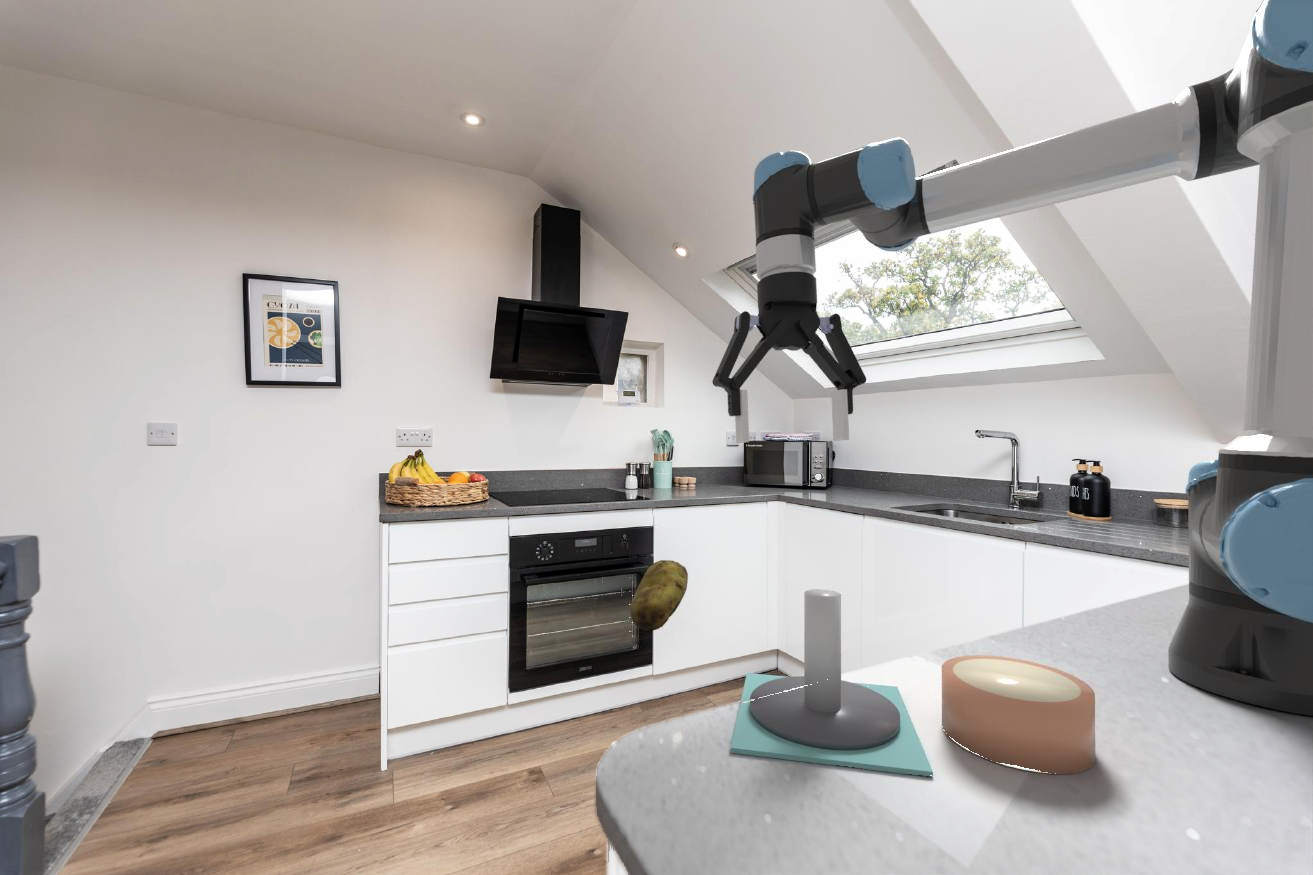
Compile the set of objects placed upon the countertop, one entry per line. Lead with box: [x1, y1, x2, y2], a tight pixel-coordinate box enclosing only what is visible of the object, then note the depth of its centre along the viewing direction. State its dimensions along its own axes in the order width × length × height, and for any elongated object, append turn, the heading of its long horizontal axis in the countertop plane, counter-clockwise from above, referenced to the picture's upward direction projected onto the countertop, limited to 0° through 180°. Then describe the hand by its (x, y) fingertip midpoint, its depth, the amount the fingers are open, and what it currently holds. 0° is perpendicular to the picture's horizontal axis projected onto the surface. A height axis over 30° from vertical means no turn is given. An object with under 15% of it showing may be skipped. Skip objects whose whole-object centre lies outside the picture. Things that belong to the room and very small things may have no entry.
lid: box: [750, 588, 900, 751], centre depth 54 cm, size 13×13×11 cm
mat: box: [730, 672, 934, 777], centre depth 53 cm, size 15×16×1 cm
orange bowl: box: [941, 654, 1096, 775], centre depth 50 cm, size 11×11×5 cm
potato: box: [629, 559, 689, 633], centre depth 82 cm, size 8×13×8 cm, turn 146°
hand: (792, 441), depth 76 cm, fingers open, 13 cm apart
